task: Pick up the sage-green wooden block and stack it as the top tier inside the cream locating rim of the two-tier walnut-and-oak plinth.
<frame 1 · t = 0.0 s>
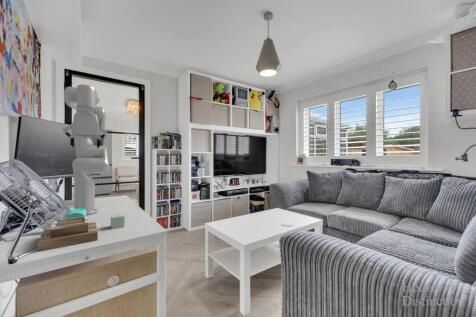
hand: (85, 147, 101), 37 cm above the table, tool pointing down, fingers open, 9 cm apart
sage block: (117, 226, 99), on the table
decorative dice: (74, 228, 96), on the table
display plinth: (70, 238, 84), on the table
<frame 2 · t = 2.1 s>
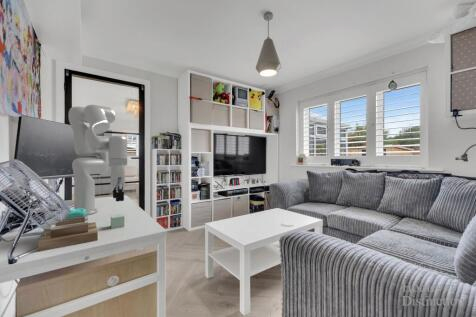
hand: (118, 199, 98), 13 cm above the table, tool pointing down, fingers open, 9 cm apart
nothing on the table moved.
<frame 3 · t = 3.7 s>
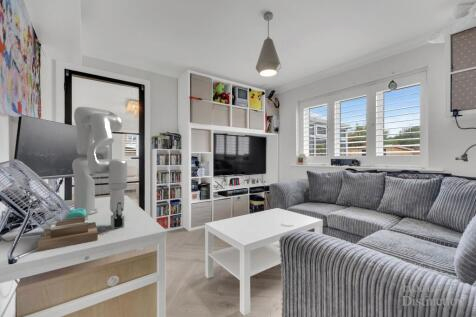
hand: (117, 224, 99), 1 cm above the table, tool pointing down, fingers closed on sage block, 5 cm apart
sage block: (117, 226, 99), on the table, touching gripper
everything else where it was.
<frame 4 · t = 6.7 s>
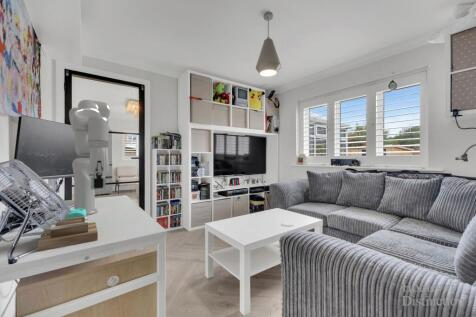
hand: (97, 186, 92), 19 cm above the table, tool pointing down, fingers closed on sage block, 5 cm apart
sage block: (97, 188, 92), point 19 cm above the table, touching gripper
everything else where it was.
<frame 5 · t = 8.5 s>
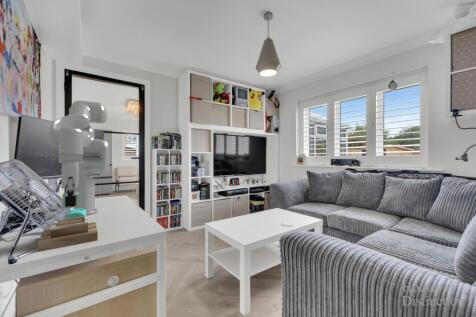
hand: (70, 204, 84), 13 cm above the table, tool pointing down, fingers closed on sage block, 5 cm apart
sage block: (70, 206, 84), point 13 cm above the table, touching gripper
everything else where it was.
when the fingers open (8 cm above the table, at t = 9.8 s): sage block drops 1 cm, resting on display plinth.
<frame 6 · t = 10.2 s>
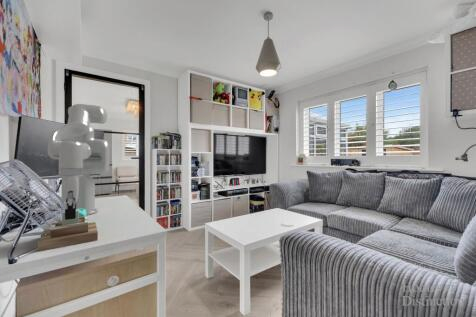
hand: (70, 216, 84), 9 cm above the table, tool pointing down, fingers open, 8 cm apart
sage block: (70, 223, 84), point 6 cm above the table, touching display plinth
everything else where it was.
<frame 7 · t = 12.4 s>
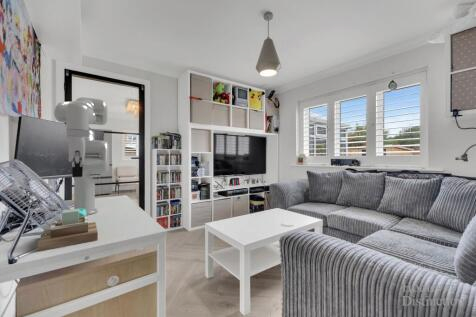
hand: (77, 175, 88), 25 cm above the table, tool pointing down, fingers open, 9 cm apart
nothing on the table moved.
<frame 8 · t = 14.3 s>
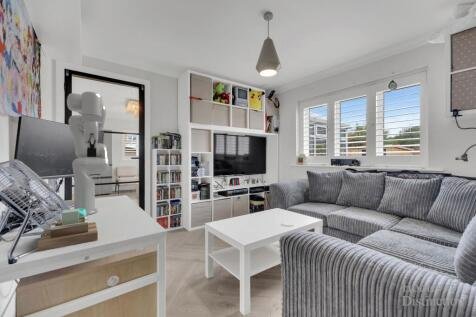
hand: (91, 157, 97), 32 cm above the table, tool pointing down, fingers open, 9 cm apart
nothing on the table moved.
at the end: sage block 0.1 cm off-centre on the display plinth, point 6.0 cm above the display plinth's base; sage block tilted 0°; the gripper is holding nothing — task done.
